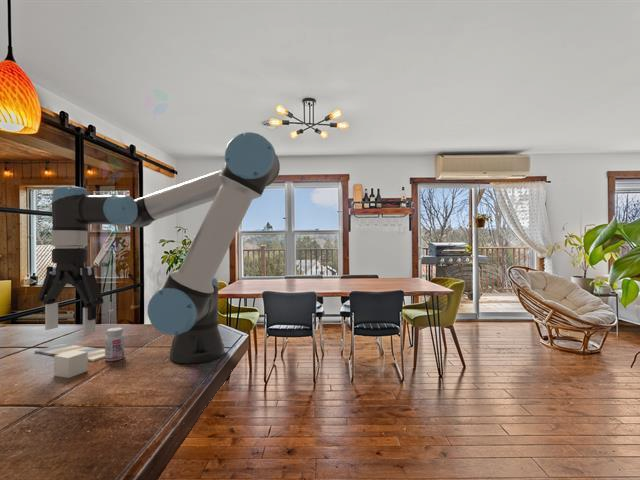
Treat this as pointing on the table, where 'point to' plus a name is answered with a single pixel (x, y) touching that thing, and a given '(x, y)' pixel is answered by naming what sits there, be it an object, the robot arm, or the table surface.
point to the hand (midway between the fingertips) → (69, 330)
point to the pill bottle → (114, 344)
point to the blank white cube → (70, 363)
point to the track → (93, 353)
